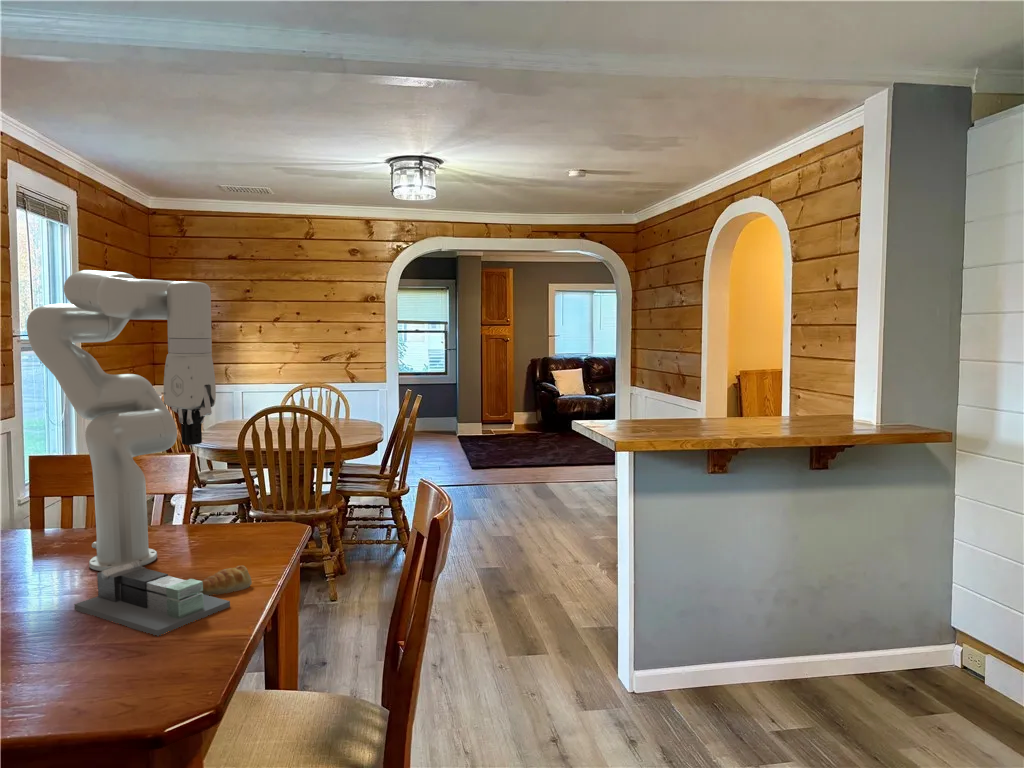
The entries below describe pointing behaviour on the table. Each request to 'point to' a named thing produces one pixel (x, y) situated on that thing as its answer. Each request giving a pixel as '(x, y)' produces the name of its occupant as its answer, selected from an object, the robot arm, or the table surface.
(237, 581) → the pastry
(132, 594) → the stand
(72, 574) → the table surface
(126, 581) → the bar
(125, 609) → the slate mat
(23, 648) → the table surface
